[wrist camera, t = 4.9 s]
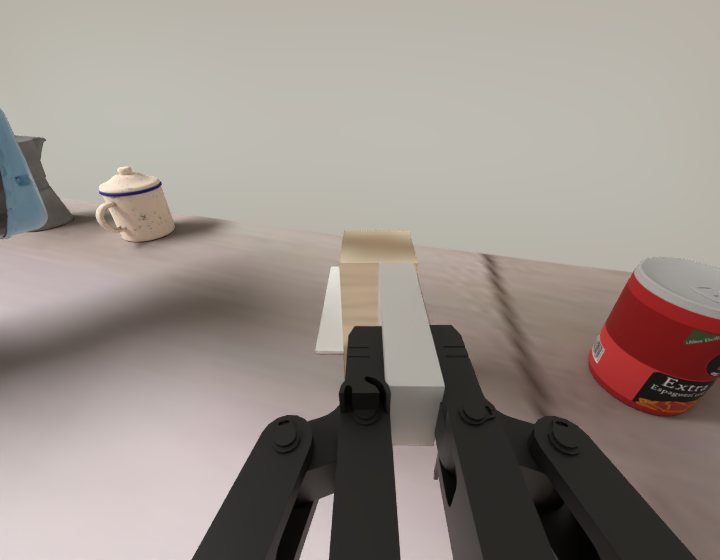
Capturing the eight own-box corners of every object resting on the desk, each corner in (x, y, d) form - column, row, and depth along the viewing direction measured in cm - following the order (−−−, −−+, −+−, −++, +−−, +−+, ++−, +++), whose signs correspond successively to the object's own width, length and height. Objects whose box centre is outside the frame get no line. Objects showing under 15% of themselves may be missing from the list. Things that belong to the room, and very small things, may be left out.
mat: (432, 354, 32) (432, 351, 32) (315, 353, 32) (315, 350, 32) (412, 269, 46) (412, 266, 46) (331, 268, 47) (331, 266, 46)
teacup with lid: (149, 220, 63) (125, 160, 57) (187, 225, 61) (167, 162, 54) (92, 247, 53) (55, 177, 47) (135, 253, 51) (102, 181, 45)
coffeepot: (68, 208, 69) (19, 117, 59) (95, 214, 66) (49, 119, 56) (-26, 236, 57) (-106, 127, 47) (2, 245, 54) (-78, 130, 44)
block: (402, 401, 27) (417, 262, 20) (346, 401, 28) (339, 262, 20) (398, 358, 32) (408, 230, 24) (348, 358, 32) (343, 230, 24)
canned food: (641, 428, 25) (728, 324, 19) (565, 356, 32) (612, 262, 26) (714, 408, 27) (815, 306, 21) (626, 343, 33) (684, 251, 27)
